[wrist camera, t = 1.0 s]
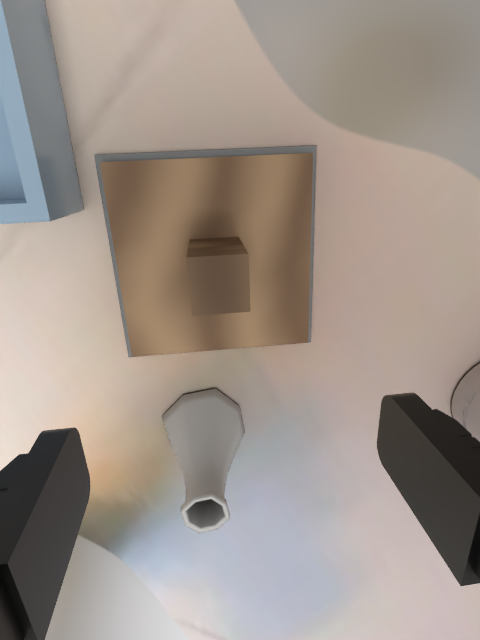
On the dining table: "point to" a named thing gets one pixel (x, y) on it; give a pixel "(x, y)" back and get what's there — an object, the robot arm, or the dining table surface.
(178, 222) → the walnut lid
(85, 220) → the dining table surface
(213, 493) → the flask
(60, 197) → the blue storage bin
